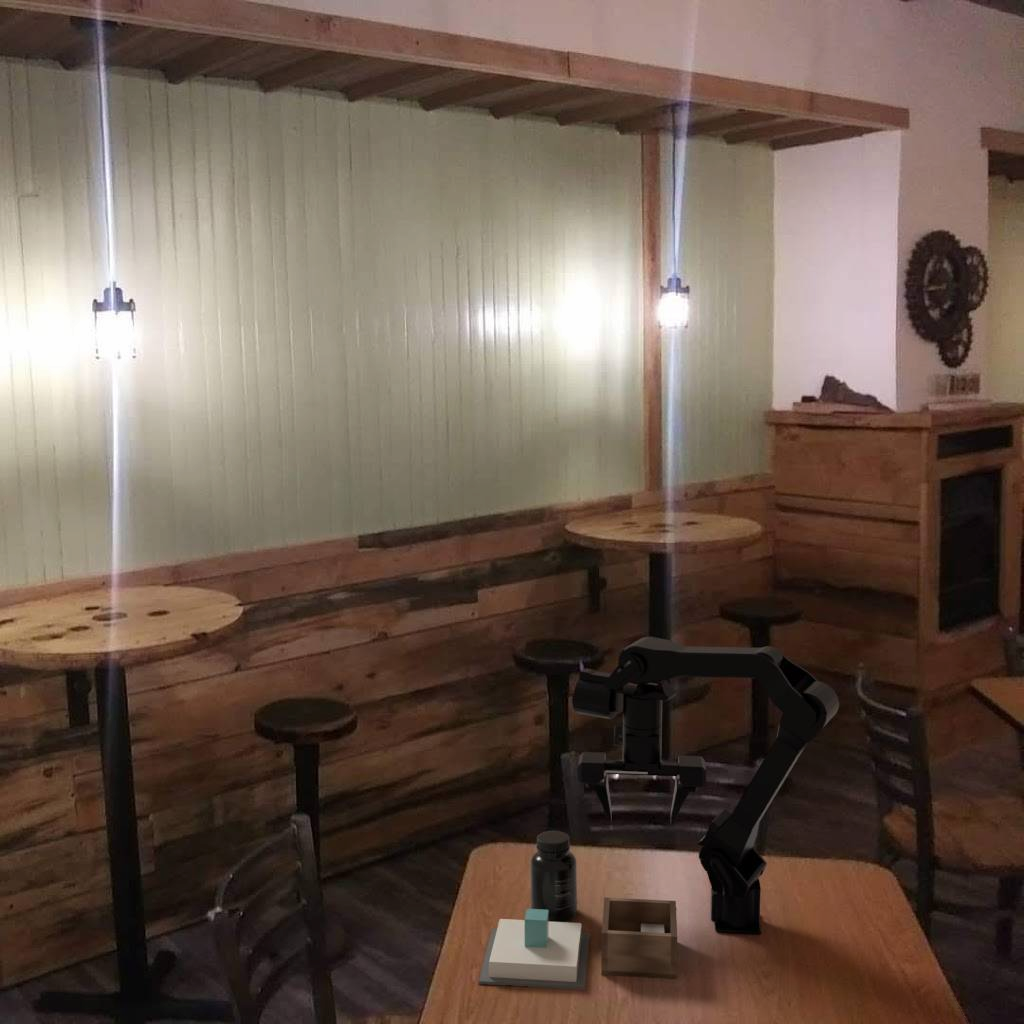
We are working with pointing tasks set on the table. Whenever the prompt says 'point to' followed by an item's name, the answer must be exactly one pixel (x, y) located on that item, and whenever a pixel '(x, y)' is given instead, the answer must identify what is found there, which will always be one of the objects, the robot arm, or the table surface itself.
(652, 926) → the parts box
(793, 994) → the table surface
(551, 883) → the supplement bottle
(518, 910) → the table surface
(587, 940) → the mat
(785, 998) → the table surface
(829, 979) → the table surface
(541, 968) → the lid
